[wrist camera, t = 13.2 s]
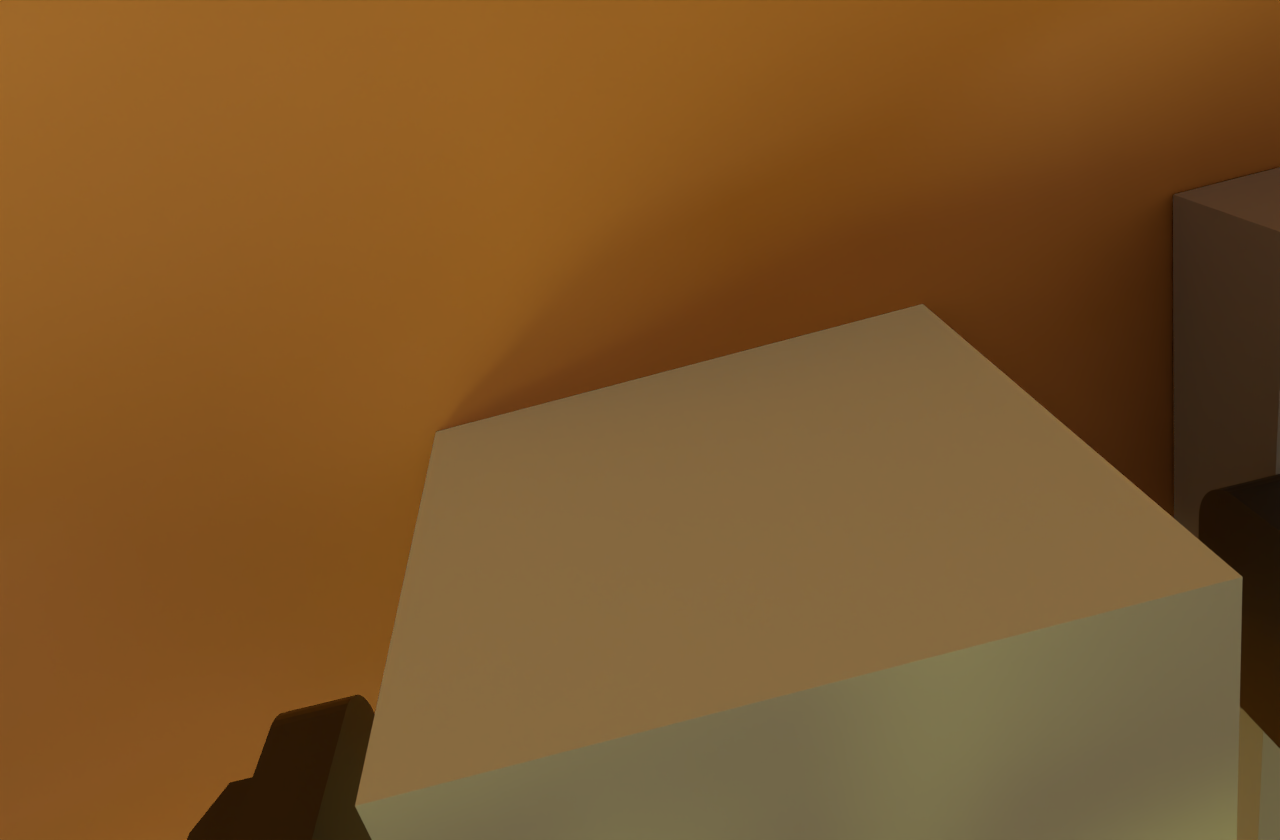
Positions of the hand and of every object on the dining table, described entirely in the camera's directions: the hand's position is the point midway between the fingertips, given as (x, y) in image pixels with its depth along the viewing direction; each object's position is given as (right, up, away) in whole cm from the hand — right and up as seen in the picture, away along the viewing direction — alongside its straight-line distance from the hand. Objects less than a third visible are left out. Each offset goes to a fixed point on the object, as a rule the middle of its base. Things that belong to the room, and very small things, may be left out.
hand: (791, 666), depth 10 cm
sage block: (0, +1, +2) cm, 2 cm away
